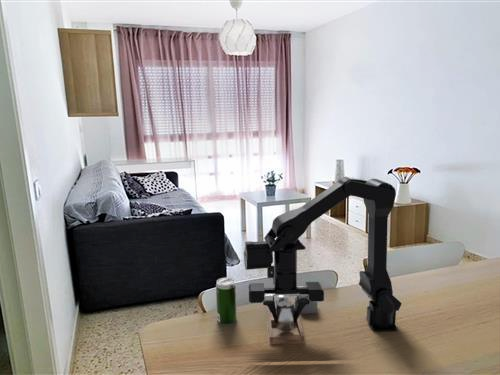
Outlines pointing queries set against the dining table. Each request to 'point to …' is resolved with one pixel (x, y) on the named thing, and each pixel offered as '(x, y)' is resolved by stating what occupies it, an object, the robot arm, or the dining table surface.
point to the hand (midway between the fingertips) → (285, 322)
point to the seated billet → (281, 299)
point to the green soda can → (226, 301)
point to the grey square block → (310, 308)
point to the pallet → (283, 336)
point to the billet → (285, 316)
